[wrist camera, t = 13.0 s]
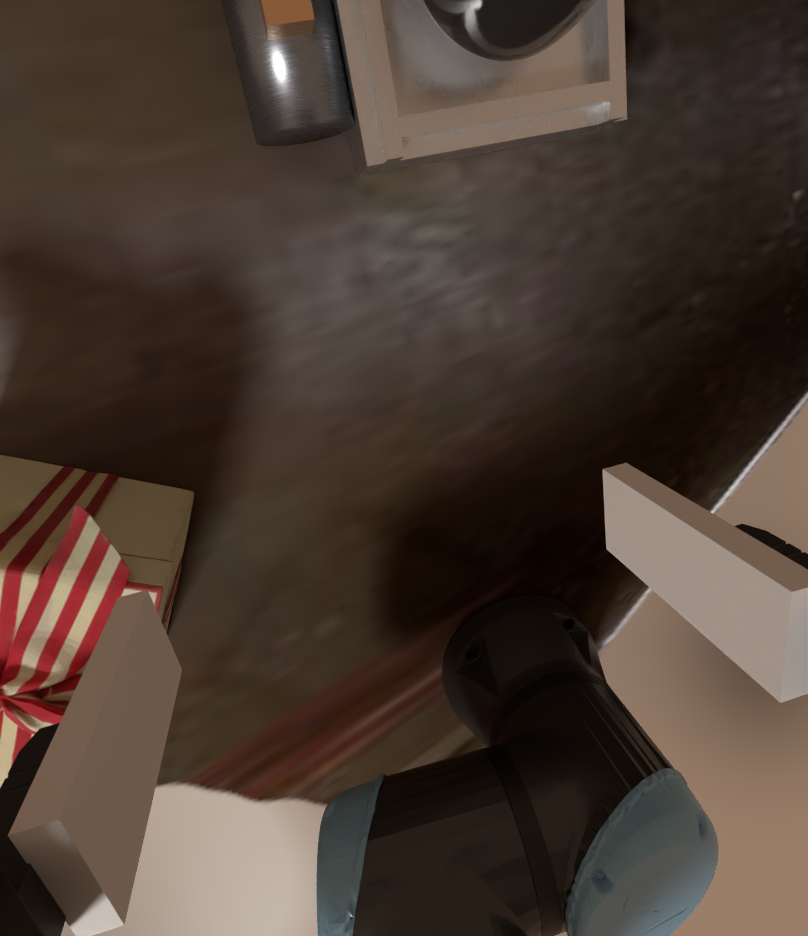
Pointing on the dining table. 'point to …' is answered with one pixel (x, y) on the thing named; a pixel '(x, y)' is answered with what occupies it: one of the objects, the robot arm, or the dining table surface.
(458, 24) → the pump dispenser
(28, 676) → the gift box
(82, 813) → the robot arm
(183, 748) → the dining table surface
